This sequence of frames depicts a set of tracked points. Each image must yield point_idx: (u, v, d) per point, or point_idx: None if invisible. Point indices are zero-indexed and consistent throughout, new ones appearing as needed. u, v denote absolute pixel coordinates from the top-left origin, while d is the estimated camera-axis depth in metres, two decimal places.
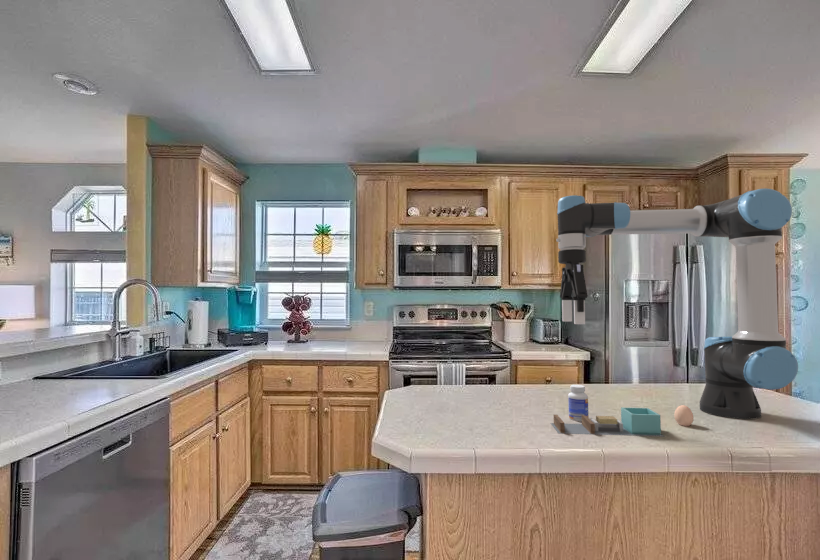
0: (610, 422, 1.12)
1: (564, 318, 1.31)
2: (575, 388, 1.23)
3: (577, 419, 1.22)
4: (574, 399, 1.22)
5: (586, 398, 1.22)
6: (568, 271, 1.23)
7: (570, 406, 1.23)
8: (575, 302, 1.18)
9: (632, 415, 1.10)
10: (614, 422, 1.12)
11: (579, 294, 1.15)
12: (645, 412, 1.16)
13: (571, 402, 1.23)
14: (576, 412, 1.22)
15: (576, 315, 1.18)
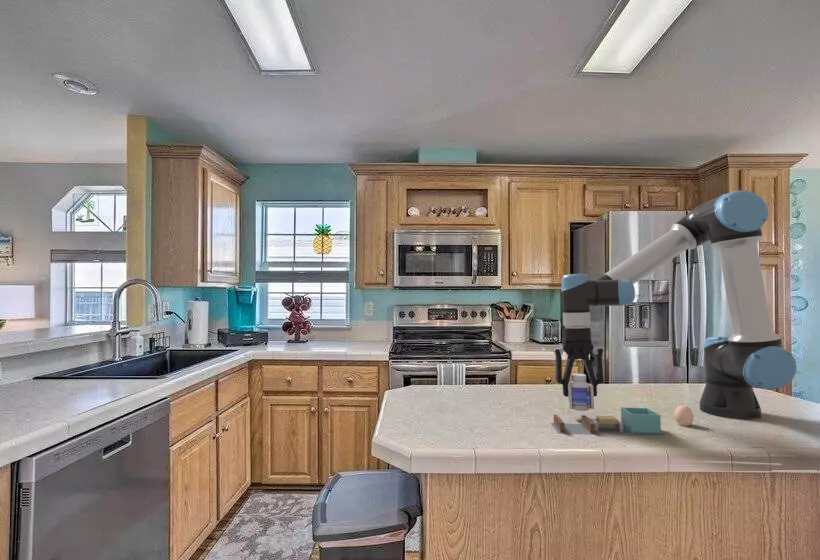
0: (610, 422, 1.12)
1: None
2: (576, 377, 1.23)
3: (579, 408, 1.22)
4: (576, 388, 1.22)
5: (588, 387, 1.22)
6: None
7: (572, 395, 1.24)
8: None
9: (632, 415, 1.10)
10: (614, 422, 1.12)
11: (556, 379, 1.26)
12: (645, 412, 1.16)
13: (573, 391, 1.23)
14: (577, 400, 1.22)
15: (567, 398, 1.26)
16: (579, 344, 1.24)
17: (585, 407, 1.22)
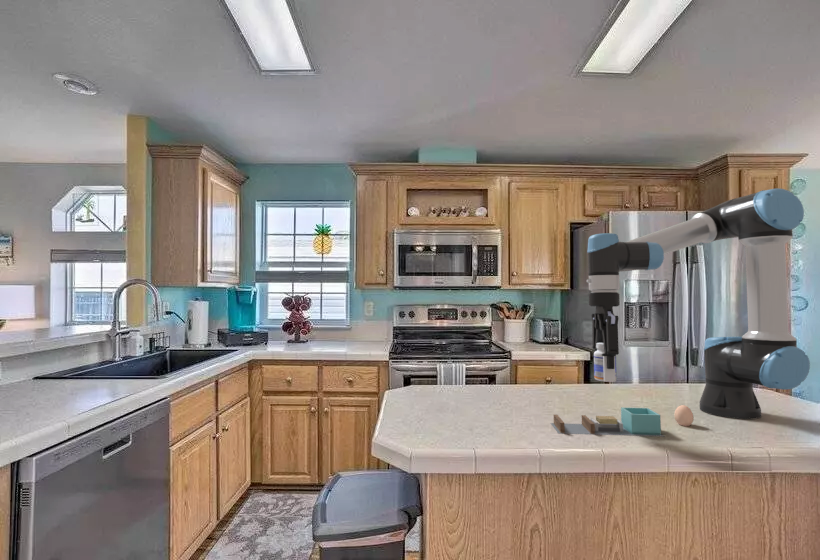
0: (610, 422, 1.12)
1: None
2: None
3: (616, 377, 1.13)
4: (615, 357, 1.13)
5: None
6: (600, 317, 1.13)
7: None
8: (605, 358, 1.11)
9: (632, 415, 1.10)
10: (614, 422, 1.12)
11: (610, 352, 1.08)
12: (645, 412, 1.16)
13: None
14: None
15: (606, 372, 1.11)
16: None
17: None
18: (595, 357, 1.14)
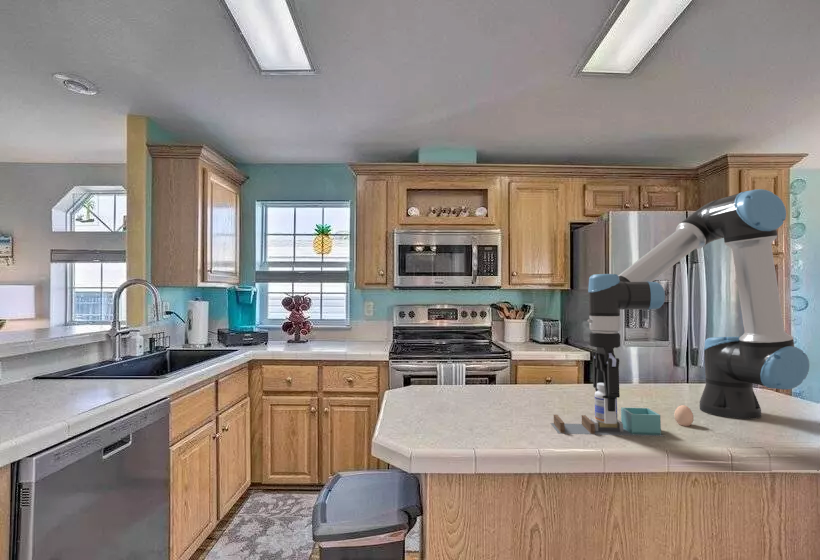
0: (611, 425, 1.12)
1: None
2: None
3: None
4: (616, 398, 1.12)
5: None
6: (601, 358, 1.13)
7: None
8: (606, 400, 1.11)
9: (632, 415, 1.10)
10: (614, 426, 1.12)
11: (611, 395, 1.08)
12: (645, 412, 1.16)
13: None
14: None
15: (607, 414, 1.11)
16: None
17: None
18: (596, 398, 1.14)
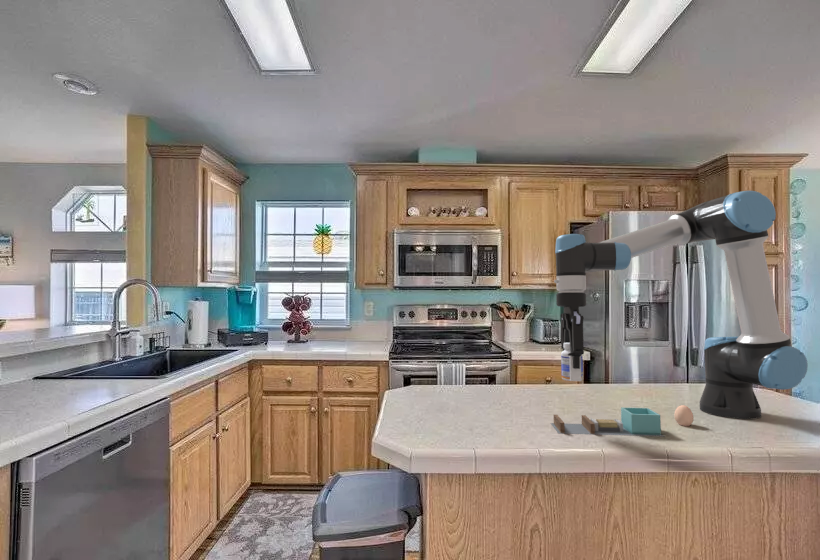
0: (611, 425, 1.12)
1: None
2: None
3: None
4: (581, 356, 1.14)
5: None
6: (567, 317, 1.14)
7: None
8: (571, 358, 1.12)
9: (632, 415, 1.10)
10: (614, 425, 1.12)
11: (575, 351, 1.09)
12: (645, 412, 1.16)
13: None
14: (582, 369, 1.14)
15: (572, 371, 1.12)
16: None
17: None
18: (562, 357, 1.15)
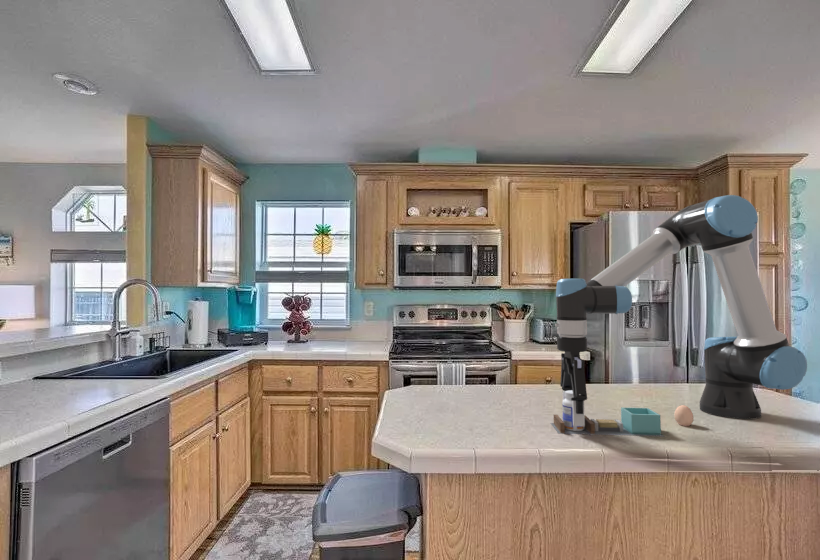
0: (611, 425, 1.12)
1: None
2: (580, 394, 1.14)
3: (584, 426, 1.13)
4: None
5: None
6: (568, 361, 1.13)
7: None
8: (574, 403, 1.10)
9: (632, 415, 1.10)
10: (614, 425, 1.12)
11: (578, 397, 1.07)
12: (645, 412, 1.16)
13: None
14: None
15: (575, 416, 1.09)
16: None
17: None
18: (563, 406, 1.14)
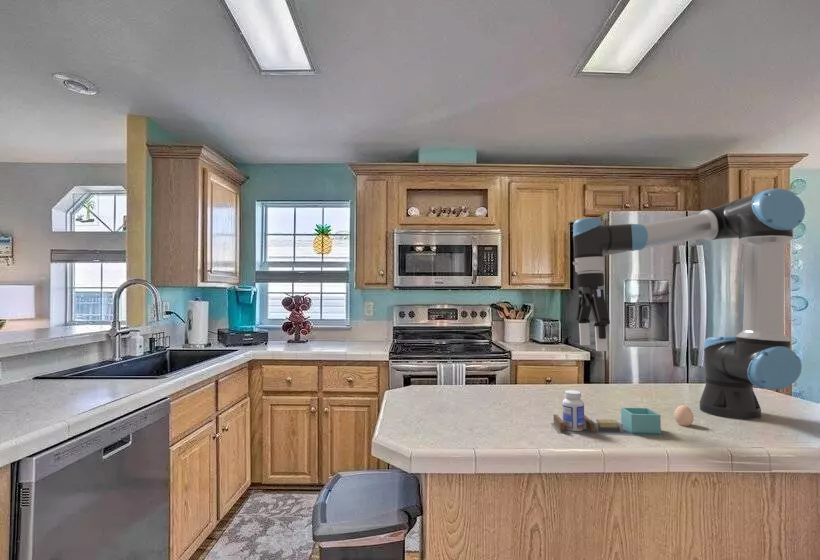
0: (611, 425, 1.12)
1: (582, 342, 1.28)
2: (580, 394, 1.14)
3: (584, 426, 1.13)
4: (583, 406, 1.13)
5: None
6: (587, 295, 1.20)
7: (580, 415, 1.12)
8: (597, 329, 1.15)
9: (632, 415, 1.10)
10: (614, 425, 1.12)
11: (601, 321, 1.12)
12: (645, 412, 1.16)
13: (581, 410, 1.12)
14: None
15: (598, 342, 1.14)
16: None
17: None
18: (563, 406, 1.14)
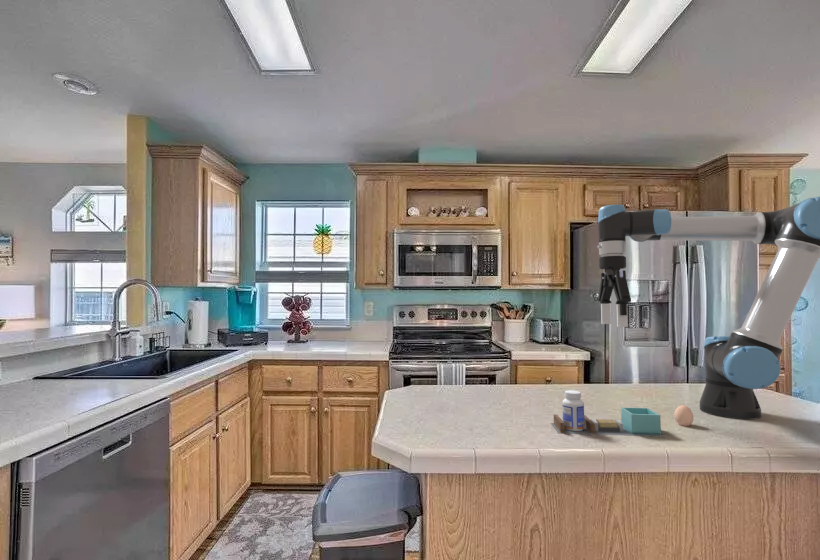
0: (611, 425, 1.12)
1: (603, 321, 1.38)
2: (580, 394, 1.14)
3: (584, 426, 1.13)
4: (583, 406, 1.13)
5: None
6: (609, 276, 1.30)
7: (580, 415, 1.12)
8: (618, 306, 1.24)
9: (632, 415, 1.10)
10: (614, 425, 1.12)
11: (623, 298, 1.22)
12: (645, 412, 1.16)
13: (581, 410, 1.12)
14: None
15: (619, 318, 1.24)
16: None
17: None
18: (563, 406, 1.14)
